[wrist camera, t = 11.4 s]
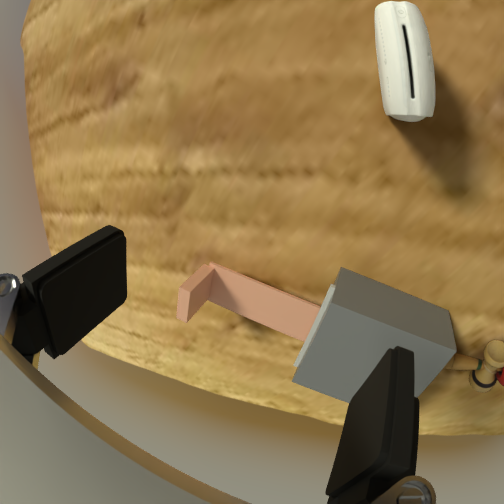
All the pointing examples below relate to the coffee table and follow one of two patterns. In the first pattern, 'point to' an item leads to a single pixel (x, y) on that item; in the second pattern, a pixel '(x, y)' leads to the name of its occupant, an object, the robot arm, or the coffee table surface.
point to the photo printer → (404, 61)
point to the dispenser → (371, 336)
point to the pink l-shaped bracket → (246, 300)
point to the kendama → (482, 366)
